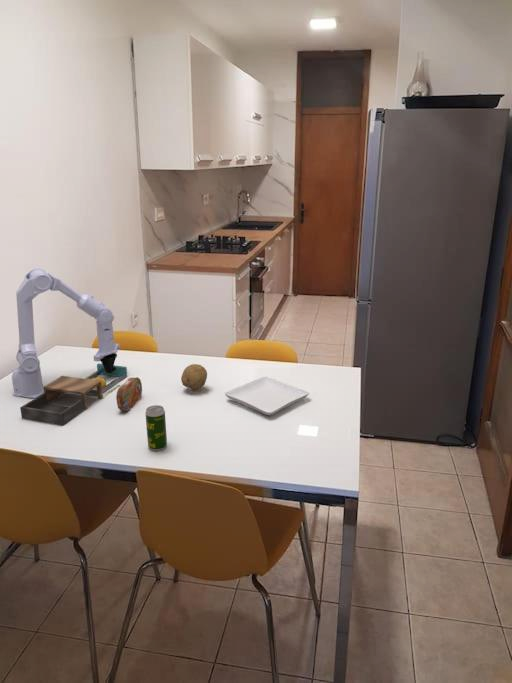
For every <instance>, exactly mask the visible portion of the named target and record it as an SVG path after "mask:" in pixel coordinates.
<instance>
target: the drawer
mask: <svg viewBox="0 0 512 683" xmlns="http://www.w3.org/2000/svg"><path fill="white" fill-rule="evenodd" d="M96 369H97V370H96V371H94V372H93V373H92V374H90V375H88V376H86V377H85V378H84V379H93V378H96V377H97V376H99V375H107V376H113V377H114V376H115V377H116V378H115V379H113V380H112V381H110V382H109V383H108V384H106V386H105V387H103V388H102V394H103V393H106V392H107V391H109V390H110V388H113V386H116V385H117V383H119V382H121V381H122V380H123V379H125V378H127V377H128V370H127V366H122V365H115V364H114V366H113V372H112V373H111V374H110V373H106V371H105V368H104V366H103V364H102V363H97V364H96ZM86 395H88V396H89V395H90V396H97V397H98V395H97V389H92V390H90V391H89V392H87V393H86Z"/></svg>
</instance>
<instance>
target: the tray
mask: <svg viewBox="0 0 512 683" xmlns="http://www.w3.org/2000/svg"><path fill="white" fill-rule="evenodd" d="M96 386H97V395H98V396H97V399H98V400H102V399H104V398H106V397H107V396H108V395H110V394H111V393H112V392H114V391H115V390H117V389H118V388H120V387H121V384H116V385H114V387H111V389H108V390H107V391H106V392H104V394H103V393H102V385H101V381H97V380H89V379H85V378H82V377H81V378H80V377H74V376H73V377H72V376H67V375H61V376H60V377H58V378H56V379H54V380H53V381H50V382H49V383H47V384H45V385H43V389H44V393H43V394H41V395H40V396H38V397H36V398H32V400H30V401H29V402H27V403H25V404H23V405H22V406H20V408H19V409H20V414H21V415H20V416H21V419H22V420H28V421H33V422H39V423H45V424H50V425H51V424H52V425H56V426H57V425H58V426H65V425H66V424H68V423H69V422H71V421H72V420H73V419H75V418H76V417H77V416H79V415H80V414H82V413H83V412H84V411H86V410H88V401H87V400H88V398H87V394H86V393H87V392H89V391H90V390H92V389H93V388H95V387H96ZM117 387H118V388H117ZM116 388H117V389H116ZM113 390H114V391H113ZM64 393H65V394H66V393H68V394H75V395H80V399H79V400H78V401H76V402H75V403H73V404H72V405H70V406H65V405H57V404H54V403H53V404H51V403H52V402H54V401H55V400H56V399H58V398H59V396H60V397H61V395H62V396H63V395H65V394H64ZM109 393H110V394H109ZM53 400H54V401H53Z"/></svg>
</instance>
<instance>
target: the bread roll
mask: <svg viewBox="0 0 512 683" xmlns="http://www.w3.org/2000/svg"><path fill="white" fill-rule="evenodd" d="M89 380H97V381H101V385H102V388H103V387H105V386H106V385H107V382H106V380H105V379H104V378H102V377H94V378H92V379H89ZM93 389H97V386H96V387H95V388H93Z"/></svg>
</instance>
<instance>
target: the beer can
mask: <svg viewBox="0 0 512 683" xmlns="http://www.w3.org/2000/svg"><path fill="white" fill-rule="evenodd" d="M144 413H145V425H146V426H145V427H146V435H147V447H148V448H149V450H150V451H151V452H152V451H153V452H159V451H163V450H165V449H166V448H167V445H168V438H167V436H168V435H167V424H166V412H165V408H164V406H163V405H156V404H154V405H151V406H148V407H147V408H145V412H144Z"/></svg>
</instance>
